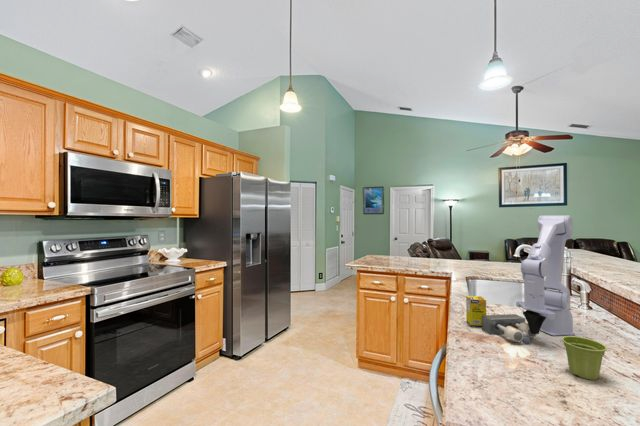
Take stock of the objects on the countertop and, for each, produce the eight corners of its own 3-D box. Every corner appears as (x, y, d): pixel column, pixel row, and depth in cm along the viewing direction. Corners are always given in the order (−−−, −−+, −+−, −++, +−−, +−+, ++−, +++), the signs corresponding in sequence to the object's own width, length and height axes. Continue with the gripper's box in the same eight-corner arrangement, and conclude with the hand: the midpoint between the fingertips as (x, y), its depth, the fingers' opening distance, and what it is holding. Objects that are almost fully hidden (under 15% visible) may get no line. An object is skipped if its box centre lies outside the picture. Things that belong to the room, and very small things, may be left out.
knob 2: (515, 326, 116) (515, 315, 117) (537, 337, 106) (537, 325, 106) (505, 327, 116) (505, 316, 116) (527, 338, 106) (526, 326, 106)
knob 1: (501, 330, 113) (501, 319, 113) (523, 342, 103) (523, 329, 103) (491, 330, 113) (491, 319, 113) (512, 342, 102) (512, 330, 102)
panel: (515, 328, 118) (515, 313, 118) (525, 332, 113) (525, 318, 113) (481, 329, 117) (481, 315, 117) (490, 334, 112) (490, 319, 112)
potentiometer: (523, 340, 106) (522, 330, 106) (531, 343, 104) (531, 332, 104) (516, 342, 105) (516, 331, 105) (525, 345, 102) (525, 334, 102)
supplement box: (486, 328, 118) (486, 300, 118) (470, 327, 119) (470, 299, 119) (481, 322, 124) (481, 296, 124) (466, 321, 125) (465, 295, 125)
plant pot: (596, 368, 86) (595, 338, 86) (615, 386, 77) (615, 352, 78) (556, 363, 89) (556, 334, 90) (571, 380, 81) (570, 347, 81)
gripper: (508, 289, 112) (508, 326, 112) (541, 300, 97) (541, 342, 97) (525, 288, 112) (526, 325, 112) (561, 299, 98) (561, 341, 98)
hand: (534, 333), depth 105 cm, fingers closed
